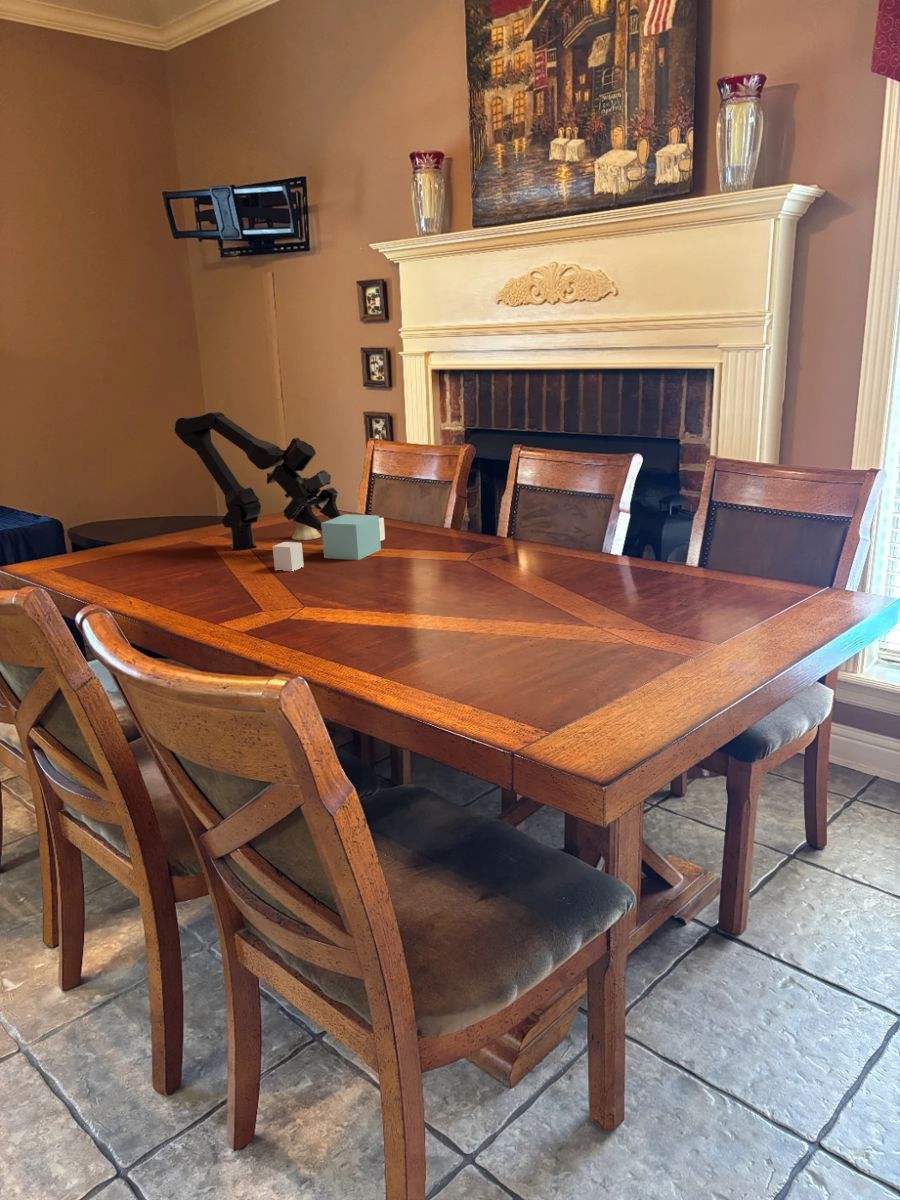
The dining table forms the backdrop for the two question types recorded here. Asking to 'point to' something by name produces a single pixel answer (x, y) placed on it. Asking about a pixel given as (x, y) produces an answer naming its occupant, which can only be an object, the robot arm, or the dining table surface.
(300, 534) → the hand bell
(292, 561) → the white block
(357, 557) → the teal block
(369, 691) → the dining table surface
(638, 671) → the dining table surface
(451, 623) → the dining table surface
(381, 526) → the cream block
